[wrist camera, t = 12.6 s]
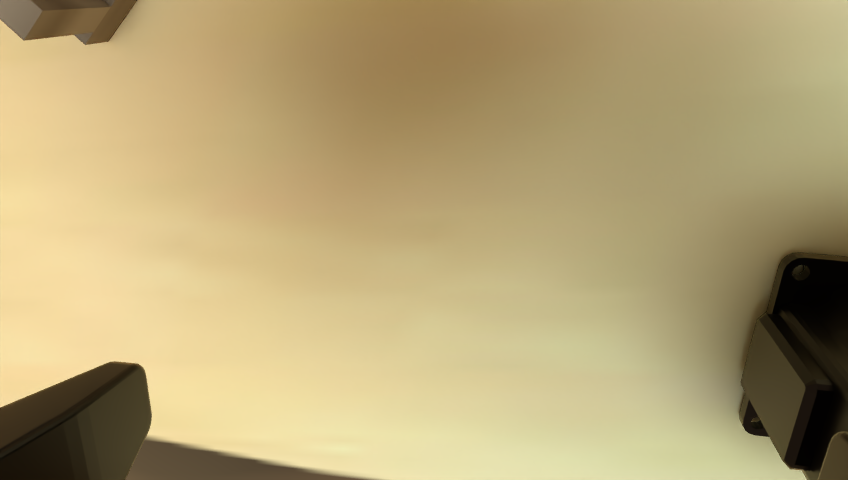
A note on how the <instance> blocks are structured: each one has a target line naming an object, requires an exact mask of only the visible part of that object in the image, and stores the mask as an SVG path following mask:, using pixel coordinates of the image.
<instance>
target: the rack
mask: <svg viewBox="0 0 848 480" xmlns="http://www.w3.org/2000/svg"><path fill="white" fill-rule="evenodd" d="M135 2H136V0H0V20H2V21H3V22H4V23H5V24H6V25H7V26H8V27H9V28H10V29H12V30H13V31H14V32H15V33H16V34H17V35H18V36H19V37H20V38H22V39H23V40H32V39H41V38H49V37H58V36H67V35H75V36H76V37H77V38H78V39H79V40H80V41H81V42H83V43H84V44H85V45H87V44H94V43H101V42H108V41H109V39H110V38H111V36H112V35H113V34H114V32H115V31H116V29H117V28H118V26H119V25H120V24H121V22H122V21H123V19H124V18H125V16H126V15H127V13H128V12H129V11H130V9H131V8H132V6H133V5H134V3H135Z"/></svg>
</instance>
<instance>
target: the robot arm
mask: <svg viewBox="0 0 848 480" xmlns="http://www.w3.org/2000/svg"><path fill="white" fill-rule="evenodd" d="M799 265H805V269H804V270H803V272H802V273H800V274H799V275H792V271H793V269H794V268H795V267H797V266H799ZM741 385H742V387H743V389H744V391H745V395H744V399H743V403H742V406H741V410H740V414H739V419H740V421H741V423H742V425H743V427H744V429H745V431H747V432H748V433H749V434H753V435H757V436H766V437H770V439H771V441H772V442H773V444H774V446H775V448H776V450H777V452H778V453H779V455H780V457H781V459H782V460H783V462H784V463H785V464H786V465H787V466H788V467H789V468H790V469H794V470H802V472H803V473H804V475H805V477H806V479H807V480H848V257H843V256H832V255H821V254H810V253H792V254H790V255H787V256H786V257H785V258H784V259H783V260H782V261H781V263H780V265H779V267H778V271H777V275H776V278H775V282H774V286H773V290H772V293H771V297H770V301H769V305H768V308H767V312H766V313H765V314H763V315H762V316H761V317H760V318H758V319H757V322H756V326H755V330H754V334H753V337H752V341H751V345H750V349H749V353H748V357H747V360H746V364H745V368H744V372H743V376H742V380H741ZM151 417H152V414H151V406H150V399H149V392H148V386H147V379H146V374H145V370H144V369H143V367H142V366H141V365H139V364H136V363H126V362H115V361H114V362H109V363H106V364H104V365H101V366H99V367H96V368H94V369H92V370H89V371H87V372H85V373H82V374H80V375H77V376H75V377H73V378H70V379H68V380H65V381H63V382H61V383H58V384H56V385H53V386H51V387H49V388H46V389H44V390H41V391H39V392H37V393H34V394H32V395H29V396H27V397H25V398H22V399H20V400H17V401H15V402H13V403H10V404H8V405H5V406H3V407H1V408H0V480H126V477H127V475H128V473H129V471H130V469H131V467H132V465H133V463H134V461H135V459H136V457H137V454H138V453H139V451H140V448H141V446H142V444H143V442H144V440H145V438H146V436H147V434H148V431H149V429H150V425H151ZM755 417H759V418H760V420H759V421H758V422H751V421H752V419H753V418H755Z"/></svg>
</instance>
